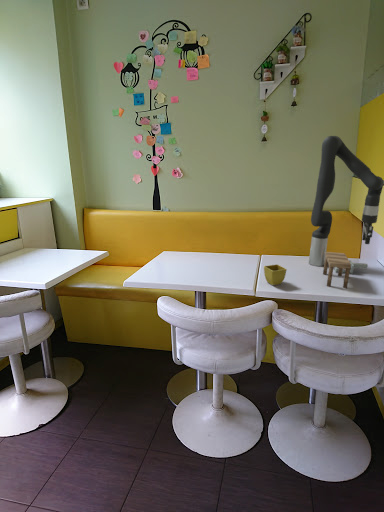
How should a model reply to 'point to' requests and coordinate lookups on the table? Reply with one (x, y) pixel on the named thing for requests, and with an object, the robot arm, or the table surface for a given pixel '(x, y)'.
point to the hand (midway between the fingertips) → (365, 242)
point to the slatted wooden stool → (336, 261)
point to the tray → (352, 267)
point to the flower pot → (274, 274)
